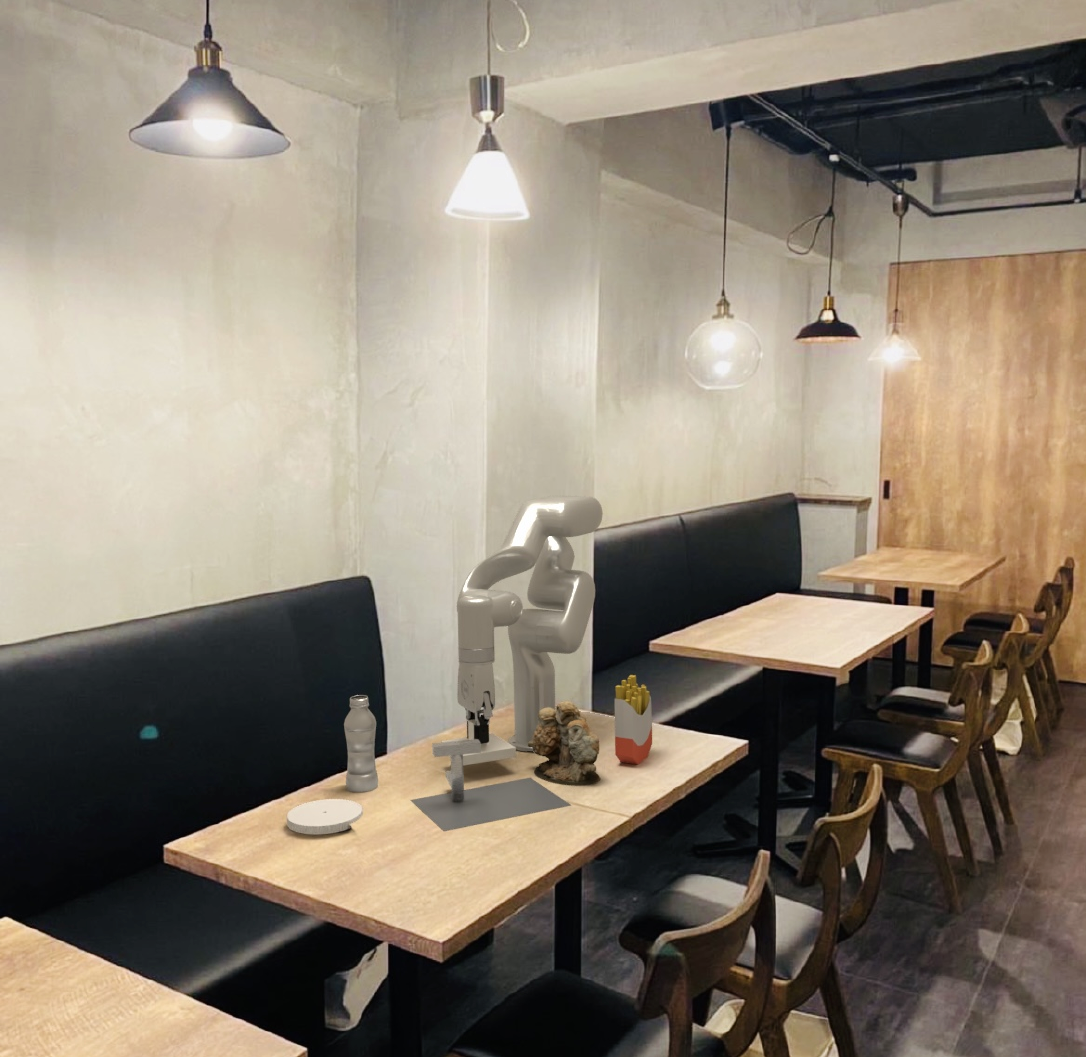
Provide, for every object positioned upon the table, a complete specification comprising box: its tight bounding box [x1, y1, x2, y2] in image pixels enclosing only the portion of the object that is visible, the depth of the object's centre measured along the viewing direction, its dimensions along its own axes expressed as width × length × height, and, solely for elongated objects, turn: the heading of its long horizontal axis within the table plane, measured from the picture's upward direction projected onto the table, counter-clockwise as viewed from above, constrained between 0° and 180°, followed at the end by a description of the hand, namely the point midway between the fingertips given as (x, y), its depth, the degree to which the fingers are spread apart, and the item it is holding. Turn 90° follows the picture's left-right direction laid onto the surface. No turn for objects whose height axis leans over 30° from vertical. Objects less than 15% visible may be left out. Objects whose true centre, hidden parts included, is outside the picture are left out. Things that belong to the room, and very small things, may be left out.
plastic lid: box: [286, 798, 364, 835], centre depth 199 cm, size 14×14×2 cm
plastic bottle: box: [343, 694, 379, 794], centre depth 213 cm, size 6×7×20 cm
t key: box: [431, 739, 481, 801], centre depth 207 cm, size 8×9×11 cm
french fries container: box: [614, 674, 653, 765], centre depth 231 cm, size 5×11×18 cm, turn 152°
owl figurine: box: [528, 700, 601, 787], centre depth 218 cm, size 18×12×17 cm, turn 52°
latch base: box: [410, 777, 572, 832], centre depth 204 cm, size 26×18×2 cm
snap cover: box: [440, 719, 517, 767], centre depth 222 cm, size 12×12×7 cm
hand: (478, 740), depth 222 cm, fingers closed on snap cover, 3 cm apart
